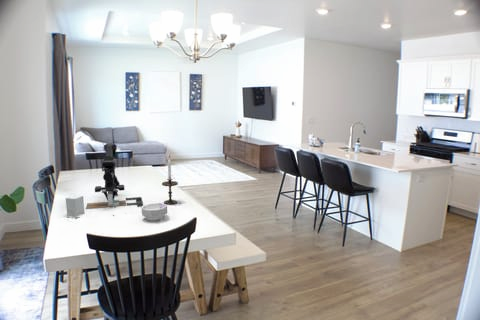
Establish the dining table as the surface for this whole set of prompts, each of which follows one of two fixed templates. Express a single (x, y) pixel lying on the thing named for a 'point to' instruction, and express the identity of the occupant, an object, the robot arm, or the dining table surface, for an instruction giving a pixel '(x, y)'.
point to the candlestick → (169, 185)
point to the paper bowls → (154, 211)
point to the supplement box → (75, 206)
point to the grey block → (110, 198)
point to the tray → (138, 201)
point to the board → (103, 205)
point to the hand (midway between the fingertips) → (110, 200)
